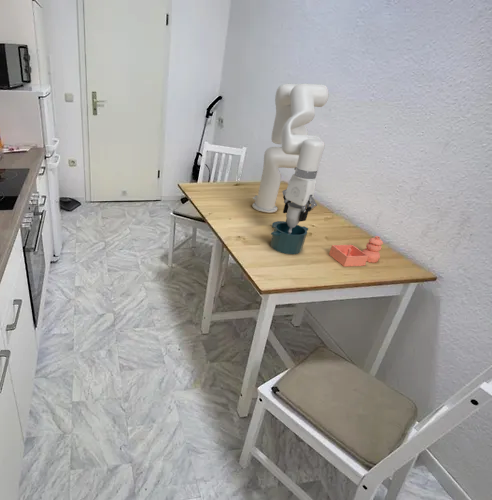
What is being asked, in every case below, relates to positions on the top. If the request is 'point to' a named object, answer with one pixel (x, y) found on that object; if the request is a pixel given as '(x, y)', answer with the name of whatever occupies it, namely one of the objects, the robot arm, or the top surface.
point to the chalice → (293, 215)
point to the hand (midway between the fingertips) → (293, 216)
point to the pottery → (357, 253)
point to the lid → (278, 222)
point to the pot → (288, 238)
